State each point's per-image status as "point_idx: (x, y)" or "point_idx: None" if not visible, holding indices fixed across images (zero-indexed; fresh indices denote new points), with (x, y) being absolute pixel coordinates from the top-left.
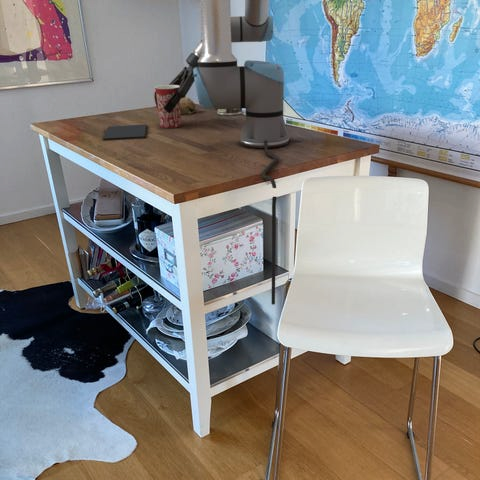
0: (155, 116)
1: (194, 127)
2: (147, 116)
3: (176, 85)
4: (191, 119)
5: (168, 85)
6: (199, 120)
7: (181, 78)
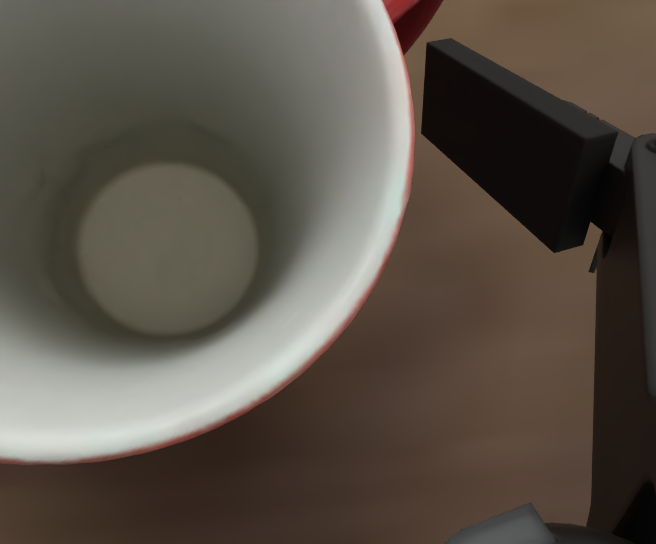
0: (641, 94)
1: (65, 509)
2: (646, 29)
3: (310, 333)
4: (481, 433)
5: (389, 124)
6: (423, 522)
7: (460, 536)
